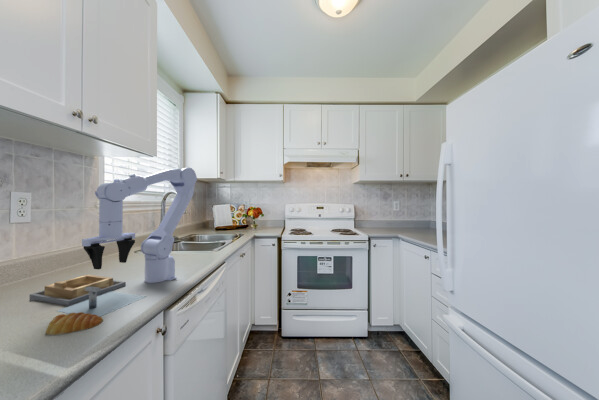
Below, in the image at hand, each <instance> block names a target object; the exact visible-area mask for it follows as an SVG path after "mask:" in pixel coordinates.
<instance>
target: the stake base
mask: <svg viewBox="0 0 599 400" xmlns="http://www.w3.org/2000/svg"><path fill="white" fill-rule="evenodd" d="M146 297H147V296H146V295H140V294H132V293H127V292H120V291H114V290H112V291H109V292H106V293H104V294H101V295H98V296H97V307H96V308H94V309H89V299H87V300H84V301H81V302H78V303H75V304H72V305H70V306H65V307H63V308H60V309H58V310H56V312H58V313H65V314H67V315H68V314H70V313H80V312H83V313H85V314H89V313H90V314H92V315H97V316H99V317H101V318H102V317H103V316H106V315H108V314H110V313H112V312H115V311H117V310H119V309H121V308H124V307H126V306H128V305H130V304H132V303H135V302H137V301H139V300H140V301H141V300H143V299H144V298H146Z"/></svg>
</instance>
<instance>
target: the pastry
mask: <svg viewBox="0 0 599 400" xmlns="http://www.w3.org/2000/svg"><path fill="white" fill-rule="evenodd" d="M103 321H104V318H102V316H101V317H99V316H97V315H92V314H90V313H89V314H85V313H83V312H80V313H70V314H68V313H67V314H66V313H65V314H62V313H61V314H58V315H56V316H55V317H53V318H52V319H51V321H50V322H49V323H48V325H47V327H46V330H45V335H52V336H53V335H55V336H56V335H61V334H63V335H64V334H69V333H70V334H71V333H76V332H79V331H80V332H81V331H84V330H87V329H91V328H95V327H97V326H99V325H100V324H102V323H103Z"/></svg>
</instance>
